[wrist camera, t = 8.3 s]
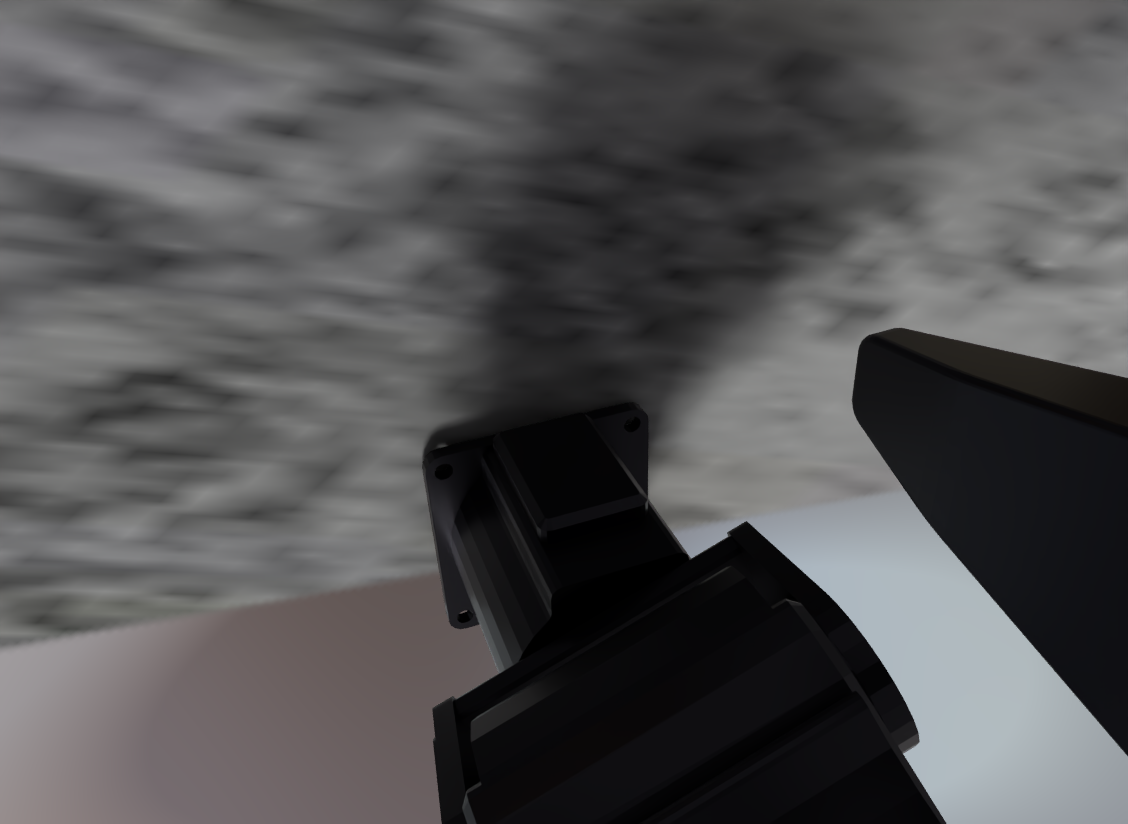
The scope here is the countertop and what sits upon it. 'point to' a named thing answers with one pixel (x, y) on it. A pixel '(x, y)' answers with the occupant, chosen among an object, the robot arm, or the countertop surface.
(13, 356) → the countertop surface
